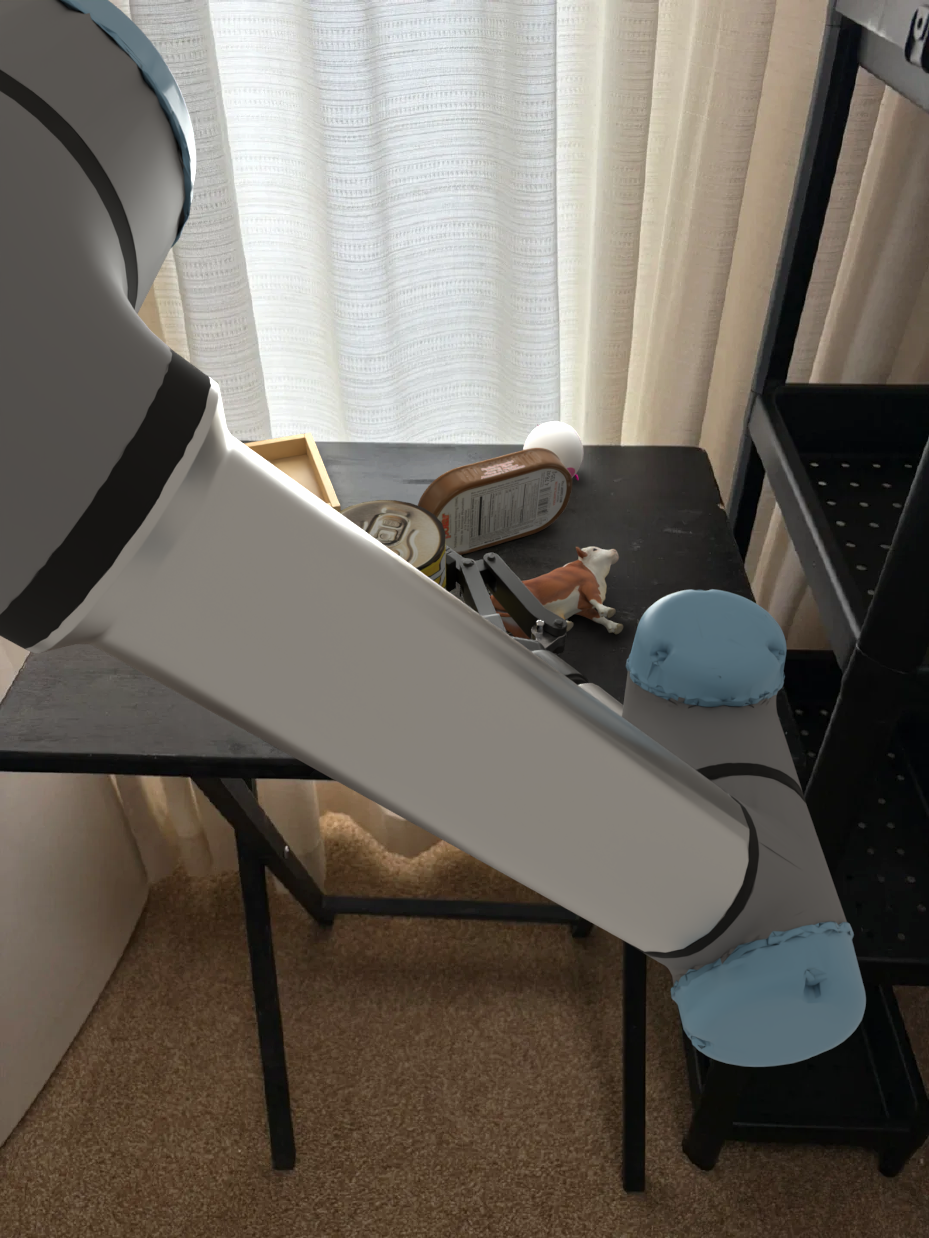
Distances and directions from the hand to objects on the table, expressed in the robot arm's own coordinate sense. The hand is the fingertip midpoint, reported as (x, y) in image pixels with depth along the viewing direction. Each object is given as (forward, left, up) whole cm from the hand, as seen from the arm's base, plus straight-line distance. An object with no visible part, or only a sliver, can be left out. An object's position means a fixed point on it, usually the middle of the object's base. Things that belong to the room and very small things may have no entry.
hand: (349, 561), depth 80 cm
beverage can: (+2, -4, -7) cm, 9 cm away
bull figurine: (+19, -6, -7) cm, 21 cm away
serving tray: (-4, +24, -9) cm, 26 cm away
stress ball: (+24, +19, -10) cm, 32 cm away
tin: (+16, +11, -10) cm, 21 cm away
